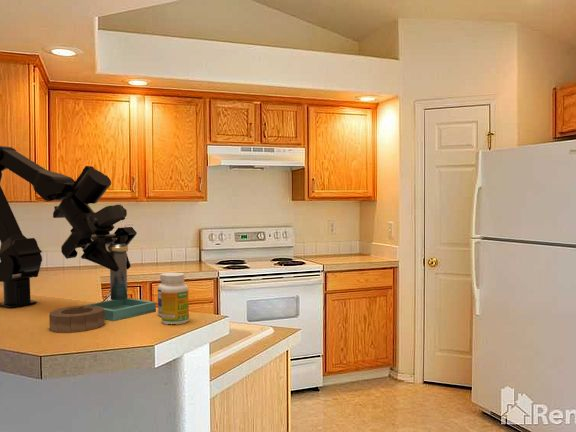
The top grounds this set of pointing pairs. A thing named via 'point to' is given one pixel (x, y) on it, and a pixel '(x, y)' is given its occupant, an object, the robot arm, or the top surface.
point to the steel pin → (120, 277)
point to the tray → (125, 308)
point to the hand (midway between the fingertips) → (123, 269)
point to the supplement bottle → (174, 299)
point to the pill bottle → (160, 292)
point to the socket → (76, 318)
